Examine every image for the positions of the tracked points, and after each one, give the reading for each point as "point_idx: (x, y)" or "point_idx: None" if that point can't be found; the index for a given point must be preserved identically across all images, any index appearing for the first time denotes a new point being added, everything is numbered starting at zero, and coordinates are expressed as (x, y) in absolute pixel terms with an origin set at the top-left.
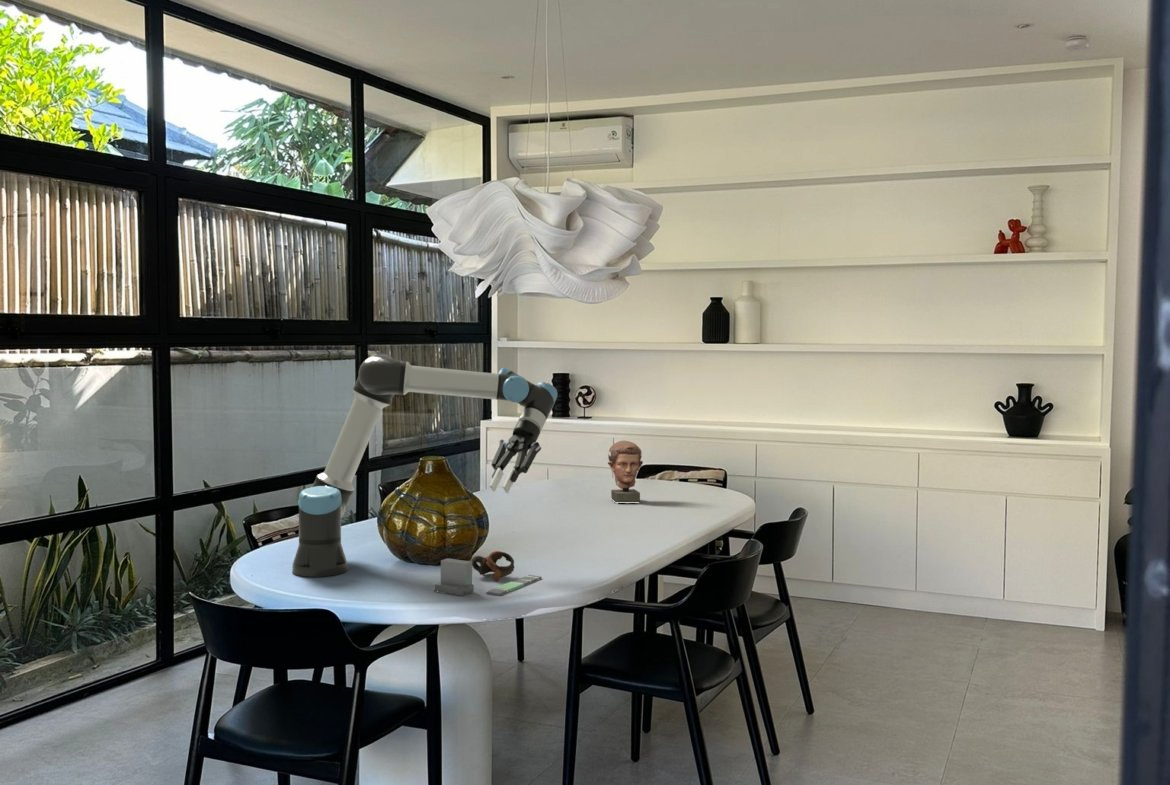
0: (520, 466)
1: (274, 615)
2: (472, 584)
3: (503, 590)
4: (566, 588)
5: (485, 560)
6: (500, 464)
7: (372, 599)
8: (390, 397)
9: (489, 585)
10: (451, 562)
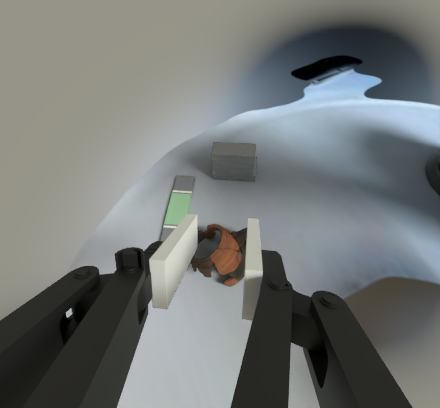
0: (101, 291)
1: (328, 62)
2: (213, 172)
3: (177, 188)
4: (104, 242)
5: (231, 233)
6: (259, 293)
7: (294, 117)
8: None
9: (209, 212)
10: (237, 143)
